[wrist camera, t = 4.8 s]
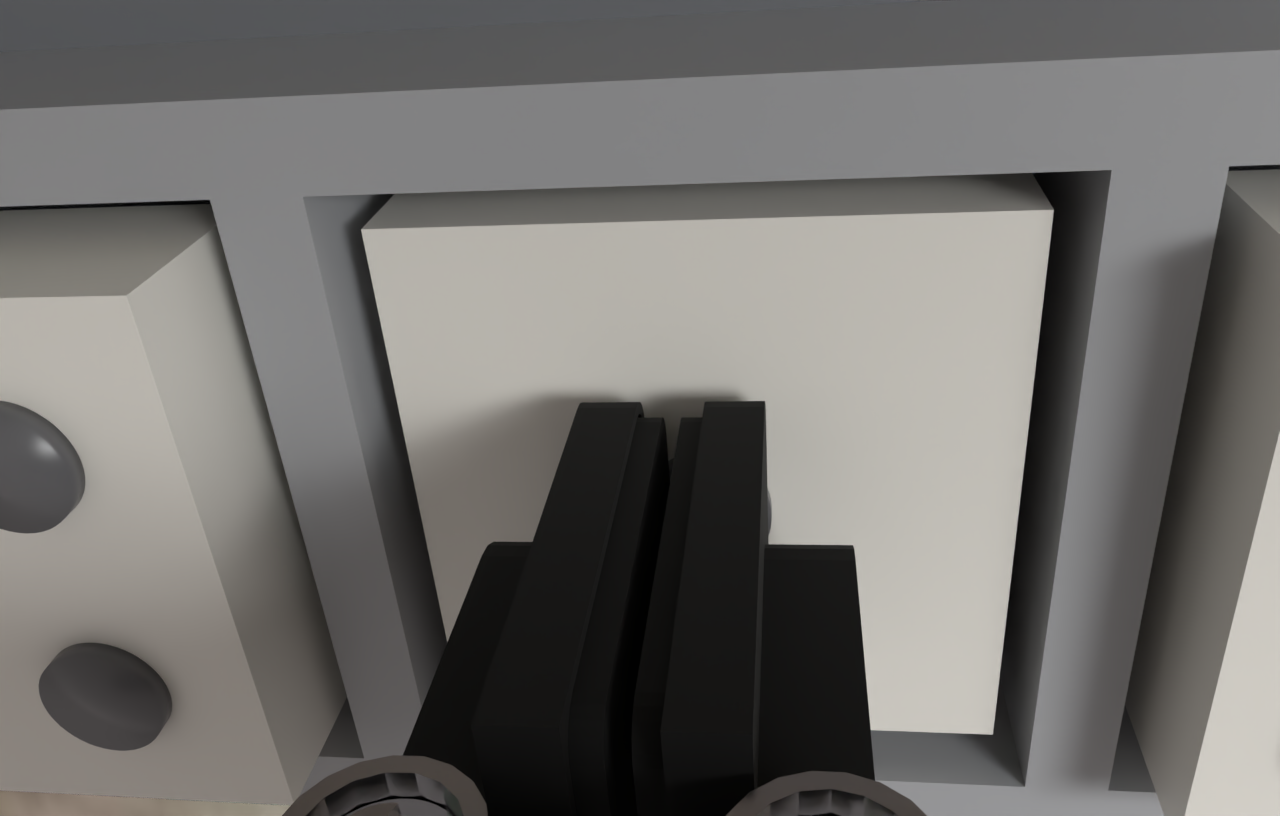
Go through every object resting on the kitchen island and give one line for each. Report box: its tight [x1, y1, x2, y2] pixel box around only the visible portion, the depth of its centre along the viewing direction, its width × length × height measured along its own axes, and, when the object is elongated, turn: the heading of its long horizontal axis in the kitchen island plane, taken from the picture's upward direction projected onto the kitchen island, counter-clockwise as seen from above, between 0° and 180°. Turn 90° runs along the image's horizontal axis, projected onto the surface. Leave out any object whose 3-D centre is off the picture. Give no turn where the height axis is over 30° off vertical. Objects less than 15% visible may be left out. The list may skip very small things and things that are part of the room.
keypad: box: [0, 0, 1280, 816], centre depth 12 cm, size 30×14×4 cm, turn 94°
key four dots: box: [0, 204, 347, 805], centre depth 11 cm, size 6×6×2 cm
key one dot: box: [361, 173, 1054, 735], centre depth 11 cm, size 6×6×2 cm
